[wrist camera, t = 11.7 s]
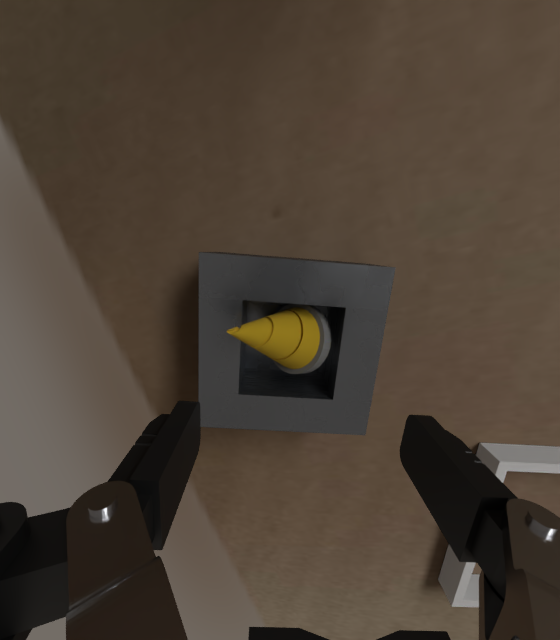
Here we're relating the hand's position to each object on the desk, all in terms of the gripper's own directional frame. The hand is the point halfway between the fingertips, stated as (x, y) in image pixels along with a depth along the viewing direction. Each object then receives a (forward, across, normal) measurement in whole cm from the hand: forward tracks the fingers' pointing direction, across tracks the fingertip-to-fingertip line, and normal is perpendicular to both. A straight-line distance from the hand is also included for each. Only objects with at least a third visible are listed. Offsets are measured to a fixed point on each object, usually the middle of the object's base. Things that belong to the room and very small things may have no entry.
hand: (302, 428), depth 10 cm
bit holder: (+14, 0, 0) cm, 14 cm away
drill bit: (+13, 0, 0) cm, 13 cm away
